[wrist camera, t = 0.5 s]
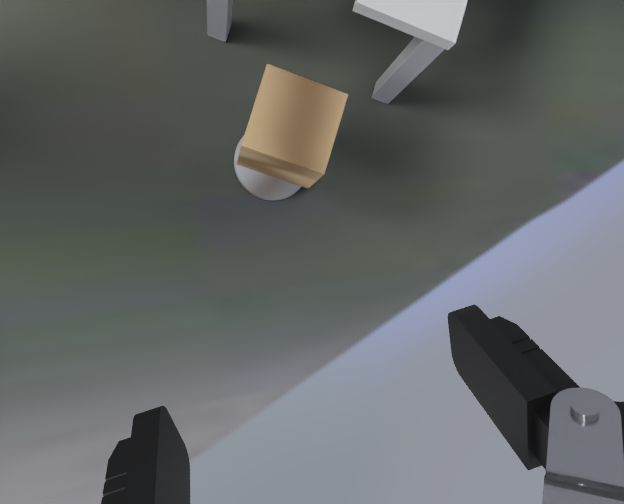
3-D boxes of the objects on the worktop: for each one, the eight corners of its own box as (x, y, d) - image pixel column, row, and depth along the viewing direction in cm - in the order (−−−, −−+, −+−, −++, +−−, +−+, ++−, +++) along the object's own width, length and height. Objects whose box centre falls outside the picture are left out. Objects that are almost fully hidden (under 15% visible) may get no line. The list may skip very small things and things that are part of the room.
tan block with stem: (224, 187, 40) (229, 150, 28) (246, 116, 41) (261, 52, 29) (295, 210, 41) (329, 185, 29) (316, 141, 42) (358, 89, 30)
